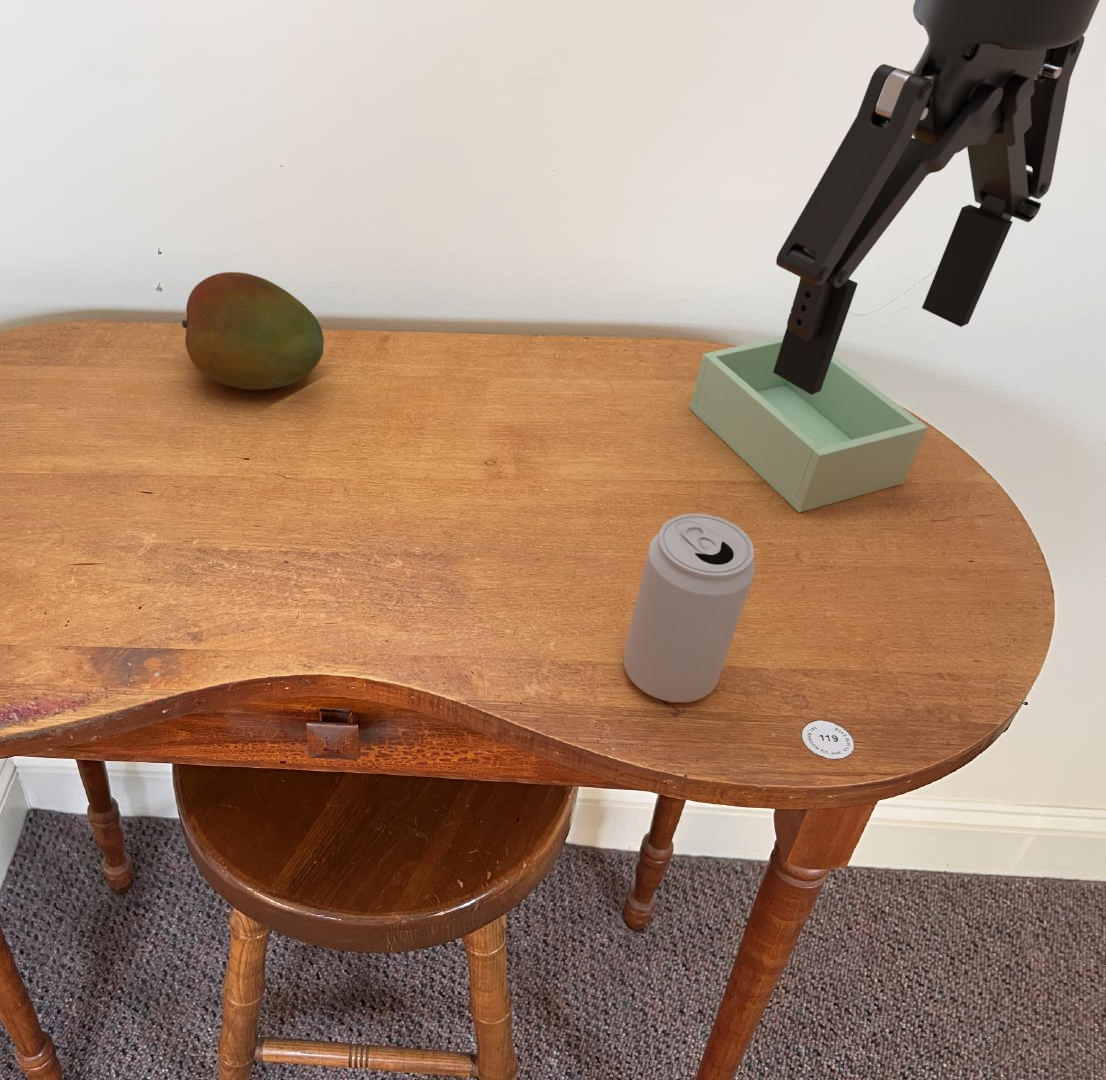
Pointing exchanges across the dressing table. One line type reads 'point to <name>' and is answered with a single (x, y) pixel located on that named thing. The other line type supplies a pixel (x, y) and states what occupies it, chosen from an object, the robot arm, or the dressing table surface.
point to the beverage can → (688, 606)
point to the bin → (806, 426)
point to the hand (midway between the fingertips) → (873, 347)
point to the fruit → (250, 332)
